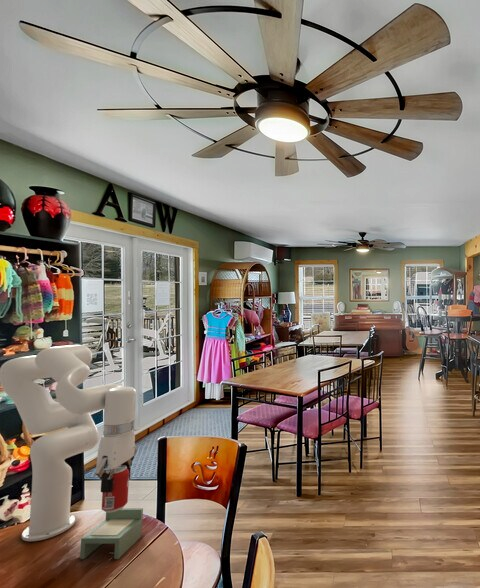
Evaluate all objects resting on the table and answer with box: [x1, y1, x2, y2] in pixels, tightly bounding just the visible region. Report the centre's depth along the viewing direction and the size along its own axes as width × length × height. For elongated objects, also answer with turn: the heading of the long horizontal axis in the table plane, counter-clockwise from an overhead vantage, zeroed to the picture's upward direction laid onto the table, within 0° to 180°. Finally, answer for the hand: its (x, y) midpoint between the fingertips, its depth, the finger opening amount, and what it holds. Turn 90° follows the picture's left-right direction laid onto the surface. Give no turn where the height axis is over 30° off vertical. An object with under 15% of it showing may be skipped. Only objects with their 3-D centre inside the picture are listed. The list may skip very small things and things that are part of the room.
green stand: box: [79, 507, 144, 560], centre depth 106 cm, size 11×10×9 cm
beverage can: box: [101, 465, 130, 513], centre depth 106 cm, size 6×6×12 cm
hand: (115, 485), depth 106 cm, fingers closed on beverage can, 6 cm apart
